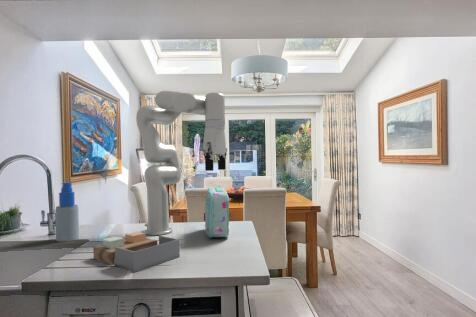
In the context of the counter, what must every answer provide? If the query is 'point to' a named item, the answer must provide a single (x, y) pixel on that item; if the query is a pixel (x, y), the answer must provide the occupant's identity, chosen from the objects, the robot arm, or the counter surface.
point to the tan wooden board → (109, 254)
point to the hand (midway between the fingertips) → (215, 170)
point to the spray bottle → (67, 215)
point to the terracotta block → (135, 237)
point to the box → (147, 255)
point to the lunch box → (216, 212)
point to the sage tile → (113, 242)
